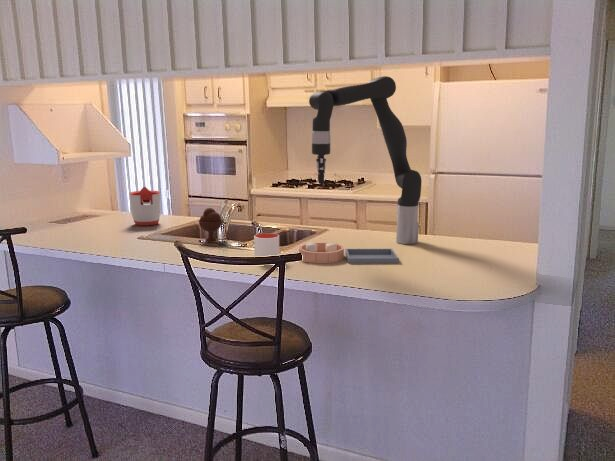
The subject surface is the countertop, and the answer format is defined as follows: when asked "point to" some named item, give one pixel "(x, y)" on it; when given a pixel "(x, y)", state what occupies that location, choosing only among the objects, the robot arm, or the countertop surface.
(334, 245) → the sandstone pebble
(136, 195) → the citrus juicer
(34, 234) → the countertop surface
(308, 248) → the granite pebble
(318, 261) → the terracotta bowl
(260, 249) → the cup
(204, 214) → the ice cream bowl
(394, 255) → the parts tray
